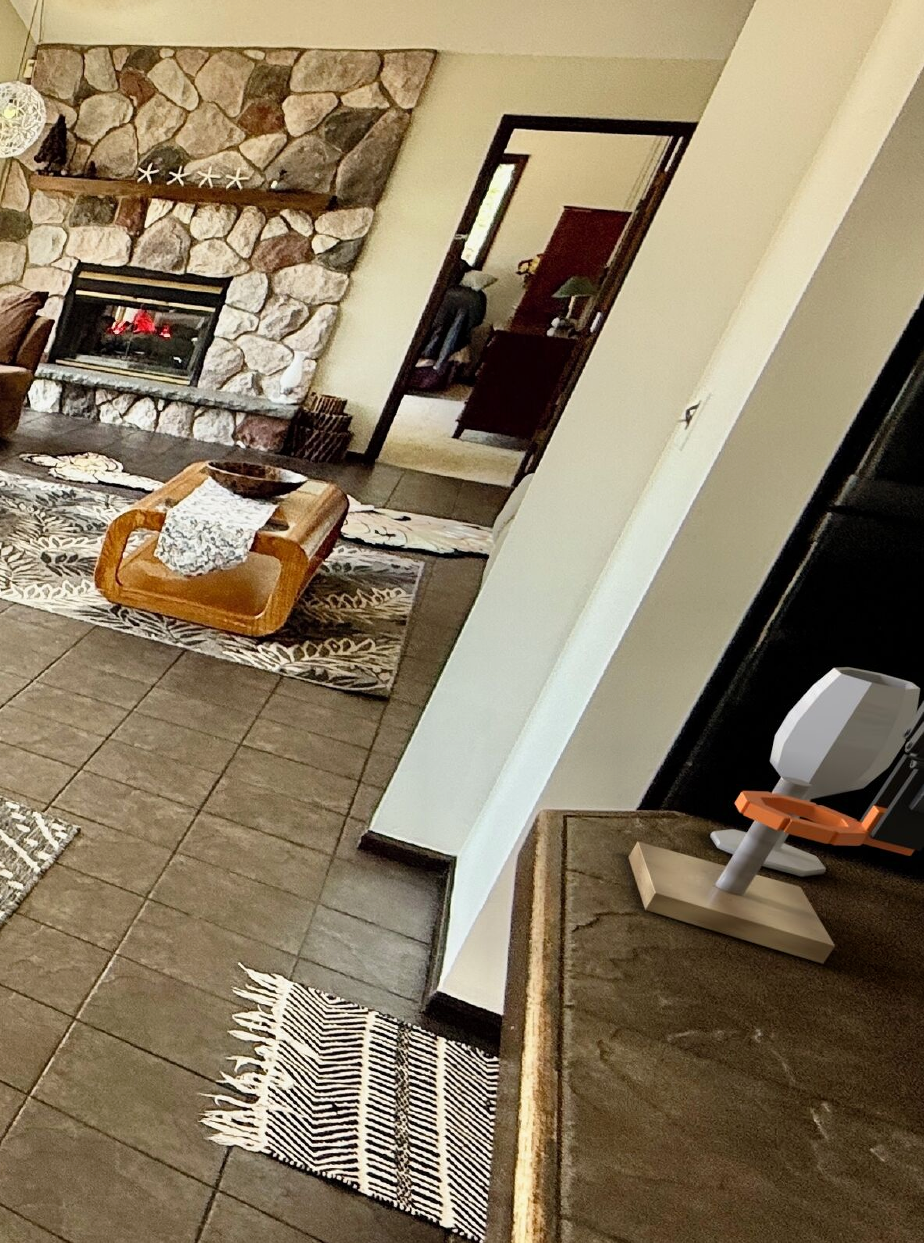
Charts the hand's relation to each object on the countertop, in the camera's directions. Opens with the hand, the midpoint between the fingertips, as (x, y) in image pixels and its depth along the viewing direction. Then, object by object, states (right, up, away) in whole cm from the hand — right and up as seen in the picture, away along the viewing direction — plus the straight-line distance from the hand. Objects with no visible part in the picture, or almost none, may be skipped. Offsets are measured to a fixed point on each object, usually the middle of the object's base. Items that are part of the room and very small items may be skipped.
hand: (889, 835), depth 97 cm
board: (+5, -9, +18) cm, 21 cm away
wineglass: (+23, -6, +29) cm, 37 cm away
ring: (-3, 0, +2) cm, 4 cm away
